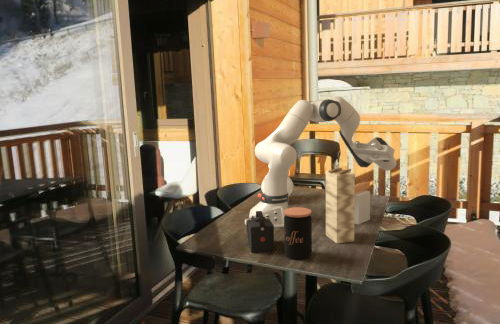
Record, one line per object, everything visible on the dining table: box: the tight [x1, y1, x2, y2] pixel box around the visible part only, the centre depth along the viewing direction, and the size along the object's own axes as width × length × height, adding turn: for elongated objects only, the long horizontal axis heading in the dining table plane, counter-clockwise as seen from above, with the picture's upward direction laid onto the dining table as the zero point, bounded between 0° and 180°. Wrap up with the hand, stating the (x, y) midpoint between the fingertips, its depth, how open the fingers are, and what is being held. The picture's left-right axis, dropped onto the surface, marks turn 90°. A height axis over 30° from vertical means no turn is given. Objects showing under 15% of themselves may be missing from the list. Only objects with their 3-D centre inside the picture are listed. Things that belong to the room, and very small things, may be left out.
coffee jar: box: [283, 206, 313, 261], centre depth 177 cm, size 11×11×18 cm
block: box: [355, 180, 371, 193], centre depth 217 cm, size 20×3×3 cm, turn 134°
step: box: [354, 189, 371, 225], centre depth 219 cm, size 10×10×14 cm
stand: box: [325, 167, 356, 244], centre depth 193 cm, size 10×11×30 cm
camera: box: [245, 211, 275, 253], centre depth 188 cm, size 11×14×15 cm
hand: (364, 143), depth 219 cm, fingers open, 8 cm apart
